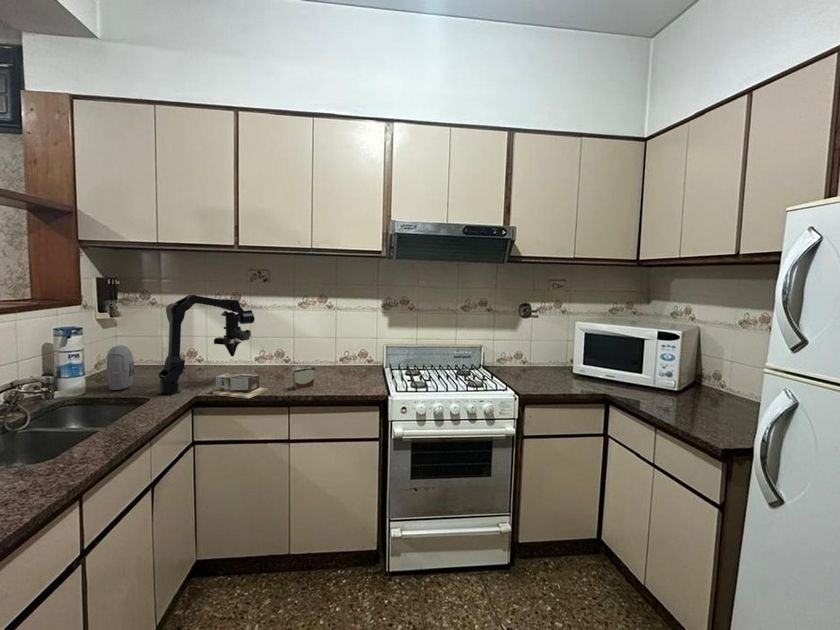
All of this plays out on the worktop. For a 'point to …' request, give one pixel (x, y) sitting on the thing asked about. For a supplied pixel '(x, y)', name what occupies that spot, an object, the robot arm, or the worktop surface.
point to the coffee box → (237, 382)
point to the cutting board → (240, 393)
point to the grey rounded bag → (120, 368)
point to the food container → (303, 376)
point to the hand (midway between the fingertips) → (232, 356)
